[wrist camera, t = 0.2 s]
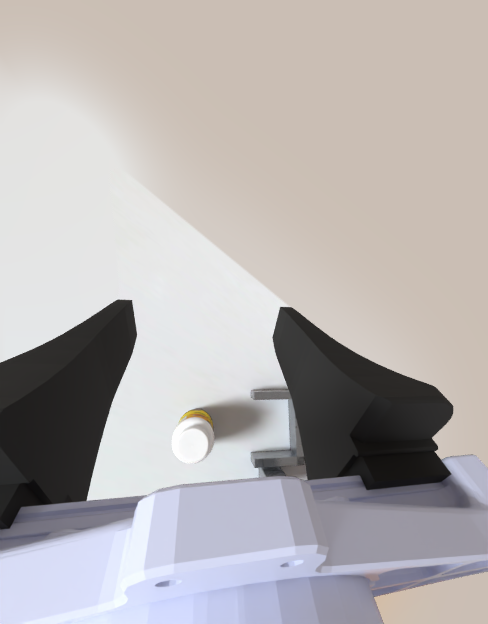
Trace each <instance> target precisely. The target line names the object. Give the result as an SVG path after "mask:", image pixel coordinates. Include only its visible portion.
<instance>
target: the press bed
mask: <svg viewBox="0 0 488 624" xmlns="http://www.w3.org/2000/svg"><path fill="white" fill-rule="evenodd" d="M251 398H252V399H254V400H269V399H288V404H289V431H290V450H285V451H266V452H251V462H252V464H253V466H254V468H259V478H262V477H273V476H286V475H285V473H284V472H283V471H282V469H281V468H280V467H279V466H293V465H304V453H303V448H302V443H301V438H300V433H299V428H298V424H297V419H296V415H295V411H294V407H293V402H292V398H291V395H290V392H289V390H251Z"/></svg>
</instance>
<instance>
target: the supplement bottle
mask: <svg viewBox="0 0 488 624" xmlns="http://www.w3.org/2000/svg"><path fill="white" fill-rule="evenodd" d="M213 445H214V430H213V422H212V419H211V417H210V416H209V414H208V413H207V412H205V411H203V410H201V409H193V410H190V411H188V412H186V413H185V414H184V415H183V416H182V417H181V419H180V421H179V423H178V425H177V427H176V429H175V431H174V433H173V437H172V448H173V451H174V454H175V455H176V457H177V458H178V459H179V460H181V461H183V462H185V463H189V464H192V463H197V462H200V461H202V460H203V459H205V458H206V457H207V456H208V455H209V453H210V452H211V450H212V448H213Z"/></svg>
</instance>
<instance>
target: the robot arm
mask: <svg viewBox="0 0 488 624" xmlns="http://www.w3.org/2000/svg"><path fill="white" fill-rule="evenodd" d="M136 337H137V332H136V325H135V318H134V311H133V304H132V300H116V301H115V302H113V303H111V304H110V305H108V306H107V307H105V308H104V309H102V310H101V311H99V312H98V313H97V314H95V315H93V316H92V317H91V318H89V319H87V320H86V321H84V322H83V323H81V324H79V325H77V326H76V327H74V328H72V329H71V330H69V331H67V332H66V333H64V334H62V335H60V336H58V337H57V338H55V339H53V340H51V341H49V342H47V343H45V344H43V345H41V346H39V347H36V348H34V349H32V350H30V351H27V352H25V353H23V354H20V355H18V356H16V357H13V358H11V359H8V360H6V361H4V362H1V363H0V624H384V623H383V620H382V618H381V615H380V612H379V610H378V607H377V604H376V602H375V599H374V597H376V596H380V595H385V594H389V593H393V592H398V591H402V590H406V589H411V588H415V587H419V586H423V585H428V584H432V583H436V582H441V581H445V580H450V579H455V578H459V577H463V576H468V575H473V574H478V573H483V572H488V468H487V467H486V466H485V465H484V464H483V463H482V462H481V460H480V459H479V458H478V457H477V456H476V455H461V456H450V457H446V458H444V459H442V460H441V459H440V458H439V457H438V456H437V454H436V453H435V452H434V451H436V450H438V446H437V444H436V443H435V442H434V441H433V439H432V437H433V436H434V435H435V434H436V433H437V432H438V431H439V430H440V429H441V428H442V427H443V426H444V425H446V423H447V422H448V421H449V420H450V419H451V416H452V414H453V405H452V404H451V403H450V402H449V401H448V400H447V399H446V398H445V397H444V396H443V395H442V393H441V392H440V391H439V390H438V389H437V388H436V387H434V386H432V385H429V384H427V383H424V382H421V381H418V380H415V379H412V378H410V377H407V376H404V375H402V374H399V373H397V372H394V371H392V370H390V369H387V368H385V367H383V366H381V365H378V364H376V363H374V362H372V361H370V360H368V359H366V358H364V357H362V356H360V355H358V354H357V353H355V352H353V351H352V350H350V349H348V348H347V347H345V346H343V345H342V344H340V343H338V342H337V341H335V340H334V339H333V338H331V337H329V336H328V335H327V334H326V333H324V332H323V331H322V330H320V329H319V328H318V327H316V326H315V325H314V324H312V323H311V322H310V321H309V320H307V319H306V318H305V317H304V316H302V315H301V314H300V313H299V312H297V311H296V310H295V309H293V308H292V307H280V310H279V314H278V318H277V322H276V326H275V330H274V334H273V342H274V348H275V352H276V356H277V359H278V361H279V364H280V367H281V370H282V373H283V375H284V378H285V381H286V384H287V386H288V389H289V392H290V395H291V398H292V402H293V407H294V411H295V415H296V419H297V424H298V428H299V433H300V438H301V443H302V448H303V453H304V458H305V464H306V470H307V477H308V480H305V481H302V480H301V479H299V478H297V477H289V476H273V477H262V478H251V479H240V480H228V481H217V482H206V483H194V484H183V485H177V486H172V487H167V488H162V489H158V490H156V491H154V492H153V493H151V494H149V495H145V496H135V497H124V498H113V499H103V500H92V501H86V500H87V496H88V491H89V487H90V482H91V478H92V474H93V470H94V466H95V462H96V458H97V454H98V450H99V446H100V442H101V439H102V435H103V431H104V428H105V424H106V421H107V417H108V414H109V411H110V407H111V404H112V401H113V398H114V396H115V393H116V391H117V388H118V386H119V384H120V381H121V379H122V377H123V374H124V372H125V370H126V367H127V365H128V362H129V360H130V358H131V355H132V352H133V349H134V345H135V341H136Z"/></svg>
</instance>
